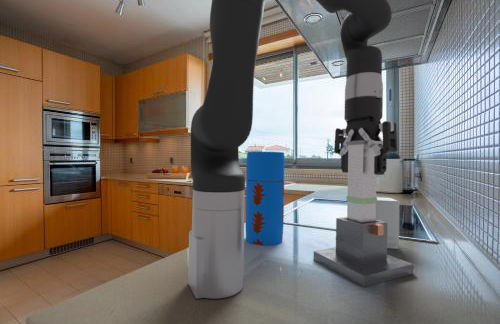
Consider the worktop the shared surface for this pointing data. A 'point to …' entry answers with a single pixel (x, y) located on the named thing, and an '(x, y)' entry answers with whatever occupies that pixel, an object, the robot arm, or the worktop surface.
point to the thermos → (264, 197)
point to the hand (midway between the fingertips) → (361, 173)
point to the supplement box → (389, 219)
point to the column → (361, 183)
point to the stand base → (362, 254)
